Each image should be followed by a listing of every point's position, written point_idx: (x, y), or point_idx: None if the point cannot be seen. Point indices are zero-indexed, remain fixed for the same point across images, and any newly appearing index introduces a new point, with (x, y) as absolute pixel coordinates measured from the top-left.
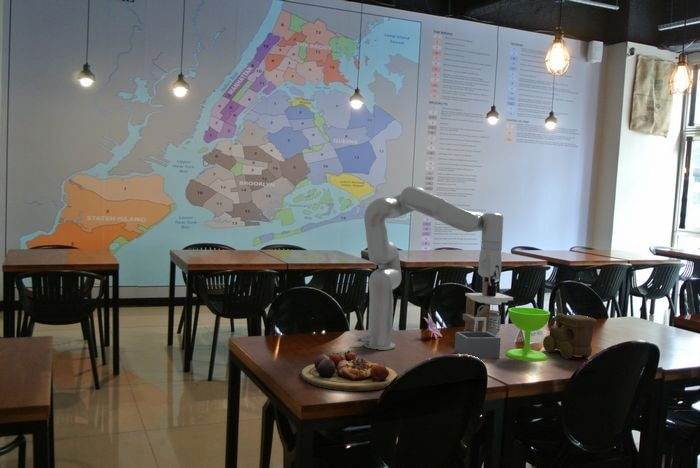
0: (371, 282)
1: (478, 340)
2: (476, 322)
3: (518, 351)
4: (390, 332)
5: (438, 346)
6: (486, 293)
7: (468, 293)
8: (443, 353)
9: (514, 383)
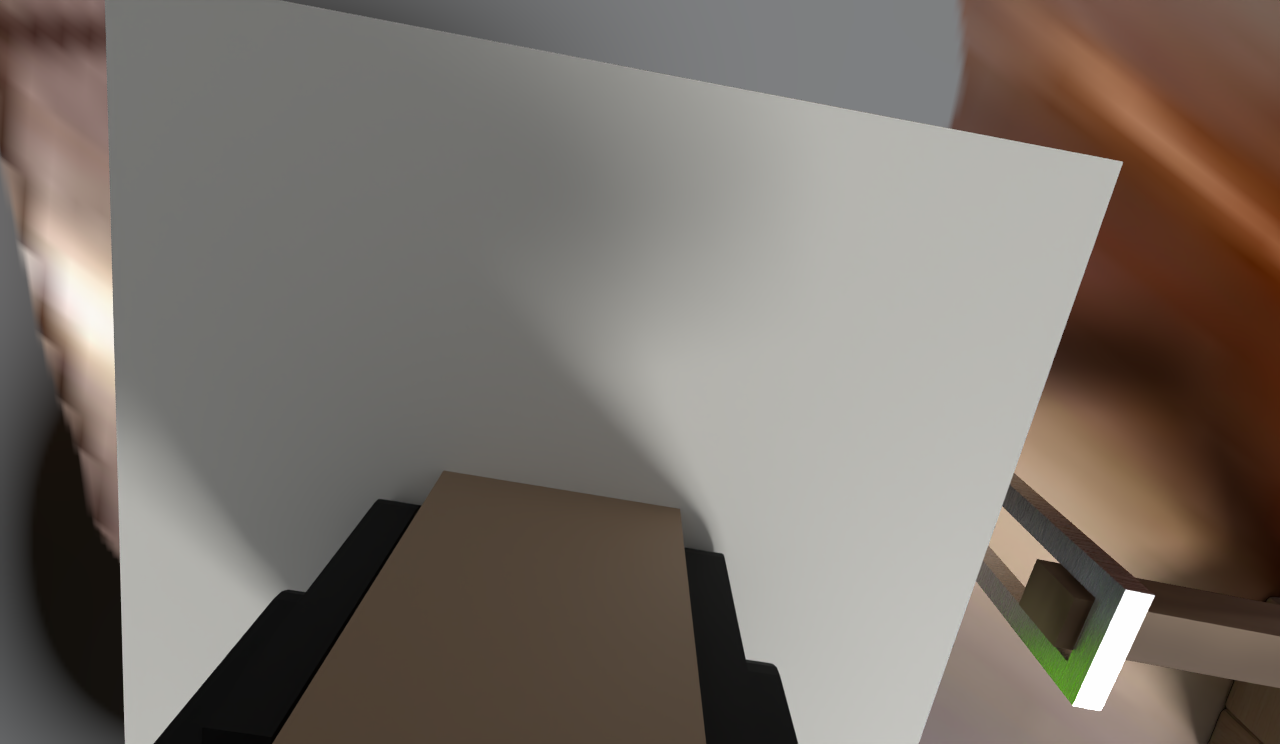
0: None
1: None
2: (1087, 566)
3: None
4: None
5: (1192, 204)
6: (424, 518)
7: (1017, 222)
8: (970, 96)
9: (21, 113)
